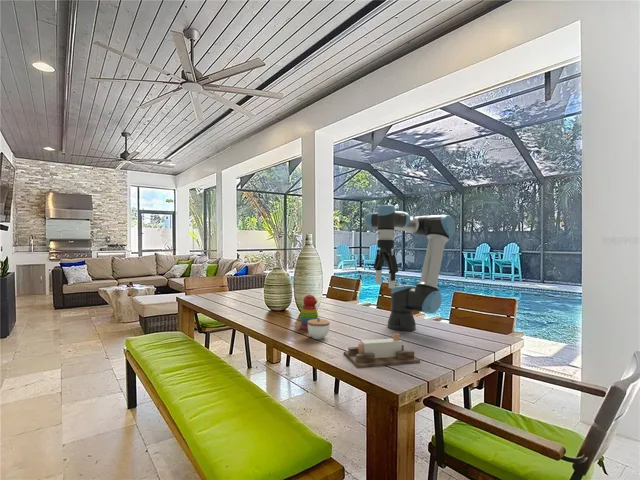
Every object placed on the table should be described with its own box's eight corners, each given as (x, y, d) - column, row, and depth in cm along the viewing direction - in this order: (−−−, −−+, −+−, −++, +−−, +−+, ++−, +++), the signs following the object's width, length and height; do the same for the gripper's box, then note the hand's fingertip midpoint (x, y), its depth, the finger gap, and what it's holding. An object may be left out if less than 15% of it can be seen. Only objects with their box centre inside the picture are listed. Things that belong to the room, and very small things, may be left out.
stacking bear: (316, 331, 180) (317, 296, 180) (297, 330, 182) (298, 295, 182) (320, 326, 191) (321, 293, 191) (302, 325, 193) (303, 292, 193)
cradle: (400, 349, 152) (400, 341, 152) (420, 362, 136) (420, 353, 136) (343, 354, 145) (343, 345, 145) (357, 367, 130) (357, 358, 130)
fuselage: (396, 352, 145) (396, 332, 145) (401, 356, 140) (401, 335, 140) (357, 355, 140) (357, 334, 140) (361, 359, 136) (362, 337, 136)
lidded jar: (307, 334, 175) (308, 315, 175) (329, 334, 174) (329, 315, 174) (306, 340, 164) (306, 320, 164) (329, 340, 163) (329, 320, 163)
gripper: (367, 239, 170) (366, 282, 170) (390, 239, 145) (389, 290, 145) (381, 239, 171) (380, 282, 171) (407, 239, 147) (406, 289, 147)
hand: (384, 286), depth 158 cm, fingers open, 13 cm apart
